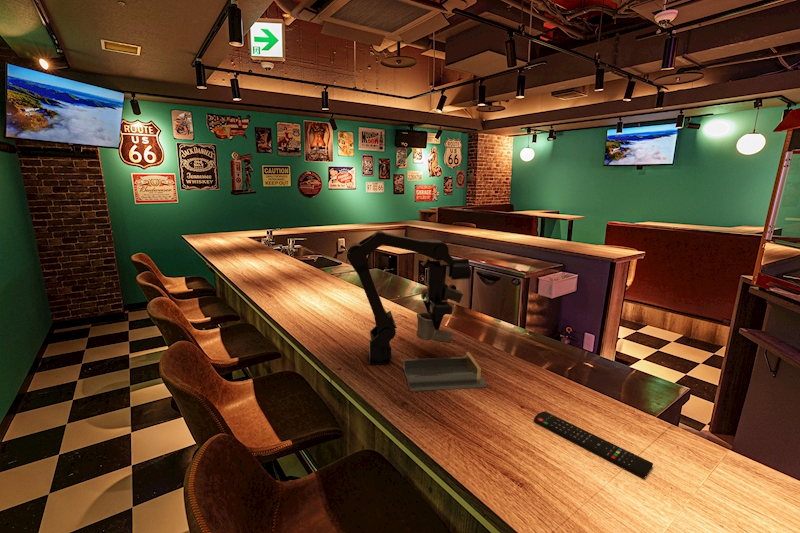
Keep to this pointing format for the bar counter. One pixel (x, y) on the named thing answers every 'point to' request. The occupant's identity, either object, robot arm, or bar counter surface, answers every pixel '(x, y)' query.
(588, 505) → the bar counter surface
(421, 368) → the pipe cradle
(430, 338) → the pipe
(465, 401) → the bar counter surface
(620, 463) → the remote control
